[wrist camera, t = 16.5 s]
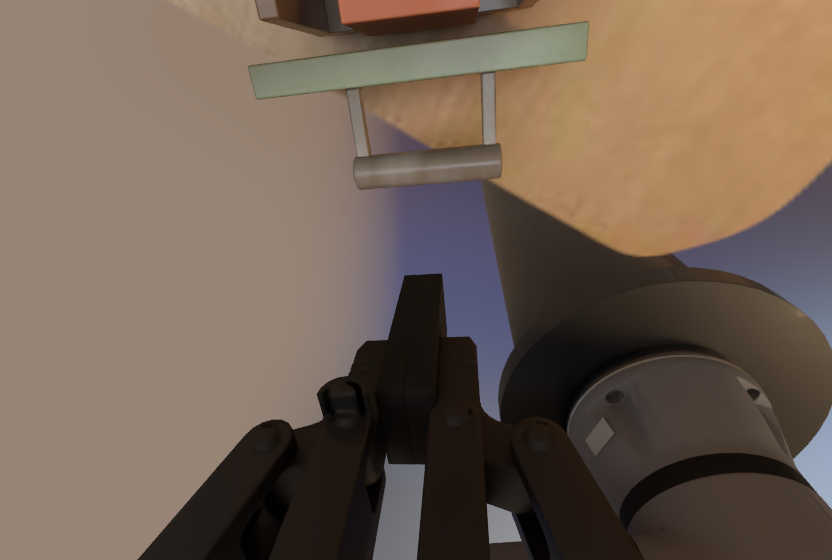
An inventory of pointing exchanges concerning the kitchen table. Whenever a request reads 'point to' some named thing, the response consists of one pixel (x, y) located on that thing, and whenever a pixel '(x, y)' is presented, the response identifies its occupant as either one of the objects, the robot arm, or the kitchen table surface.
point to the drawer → (319, 15)
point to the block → (405, 14)
